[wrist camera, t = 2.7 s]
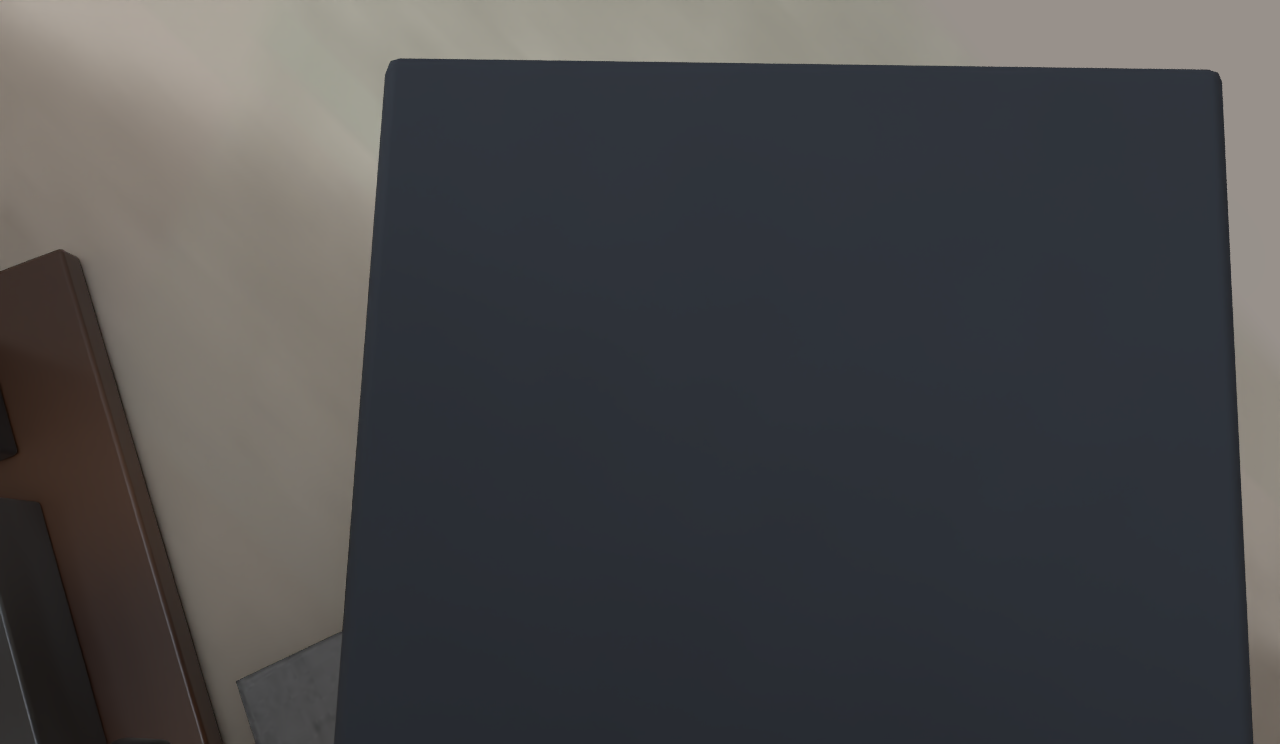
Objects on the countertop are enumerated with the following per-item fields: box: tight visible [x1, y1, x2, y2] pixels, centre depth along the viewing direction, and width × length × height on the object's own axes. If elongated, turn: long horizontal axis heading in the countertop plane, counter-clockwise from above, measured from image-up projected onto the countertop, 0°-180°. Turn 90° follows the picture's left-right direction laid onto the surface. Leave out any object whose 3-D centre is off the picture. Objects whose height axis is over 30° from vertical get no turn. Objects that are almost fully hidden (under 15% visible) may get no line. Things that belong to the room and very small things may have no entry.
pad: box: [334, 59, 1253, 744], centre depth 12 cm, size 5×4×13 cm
